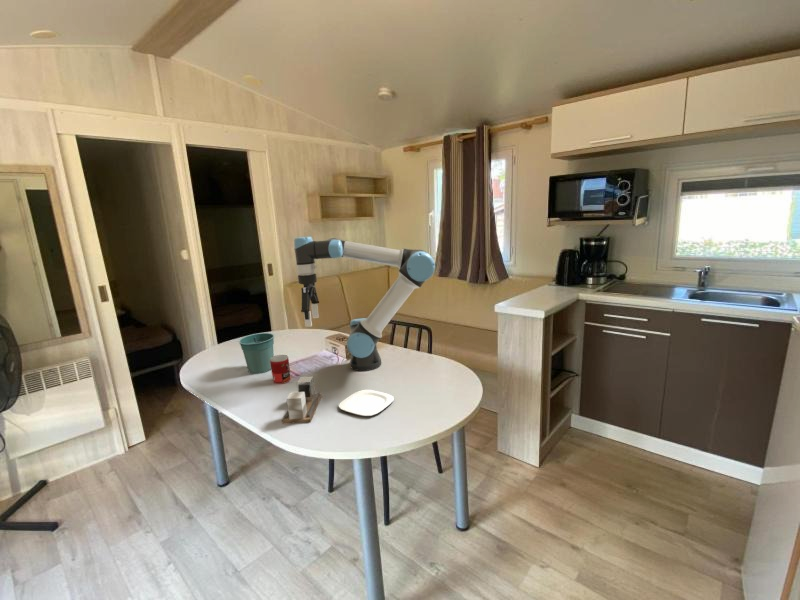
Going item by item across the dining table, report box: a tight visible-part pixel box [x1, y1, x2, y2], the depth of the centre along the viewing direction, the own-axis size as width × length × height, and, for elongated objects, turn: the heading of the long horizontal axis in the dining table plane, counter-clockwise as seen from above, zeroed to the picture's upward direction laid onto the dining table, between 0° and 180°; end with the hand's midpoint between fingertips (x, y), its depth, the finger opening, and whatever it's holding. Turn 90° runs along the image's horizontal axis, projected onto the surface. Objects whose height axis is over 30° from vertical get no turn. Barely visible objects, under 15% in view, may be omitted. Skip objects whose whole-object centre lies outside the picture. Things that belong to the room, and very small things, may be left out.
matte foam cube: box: [296, 376, 316, 401], centre depth 148 cm, size 6×5×8 cm
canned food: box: [270, 354, 292, 385], centre depth 170 cm, size 8×8×11 cm
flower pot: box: [238, 332, 275, 375], centre depth 184 cm, size 16×16×16 cm
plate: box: [338, 389, 395, 417], centre depth 144 cm, size 18×18×2 cm
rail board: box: [281, 391, 323, 425], centre depth 142 cm, size 10×20×9 cm, turn 0°
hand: (312, 322), depth 164 cm, fingers open, 13 cm apart
